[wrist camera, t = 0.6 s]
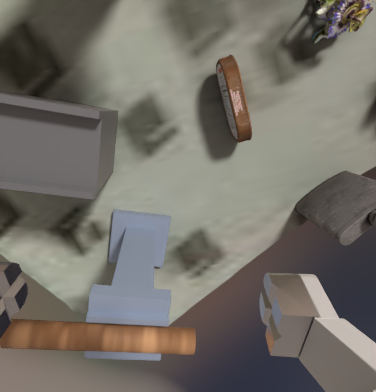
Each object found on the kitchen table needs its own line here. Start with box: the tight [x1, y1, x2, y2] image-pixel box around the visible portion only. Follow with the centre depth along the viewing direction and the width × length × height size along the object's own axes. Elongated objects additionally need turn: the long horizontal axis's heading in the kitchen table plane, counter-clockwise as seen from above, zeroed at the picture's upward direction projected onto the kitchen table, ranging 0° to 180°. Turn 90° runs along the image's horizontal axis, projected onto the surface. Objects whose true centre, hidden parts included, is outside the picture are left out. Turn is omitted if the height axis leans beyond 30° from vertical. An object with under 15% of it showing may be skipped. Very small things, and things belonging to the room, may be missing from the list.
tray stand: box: [0, 92, 118, 200], centre depth 42 cm, size 16×12×18 cm
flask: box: [295, 171, 376, 245], centre depth 52 cm, size 4×14×18 cm, turn 125°
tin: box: [216, 55, 252, 142], centre depth 48 cm, size 15×3×8 cm, turn 17°
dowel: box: [0, 319, 196, 355], centre depth 32 cm, size 22×3×3 cm, turn 80°
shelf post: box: [85, 209, 171, 360], centre depth 46 cm, size 12×12×27 cm
